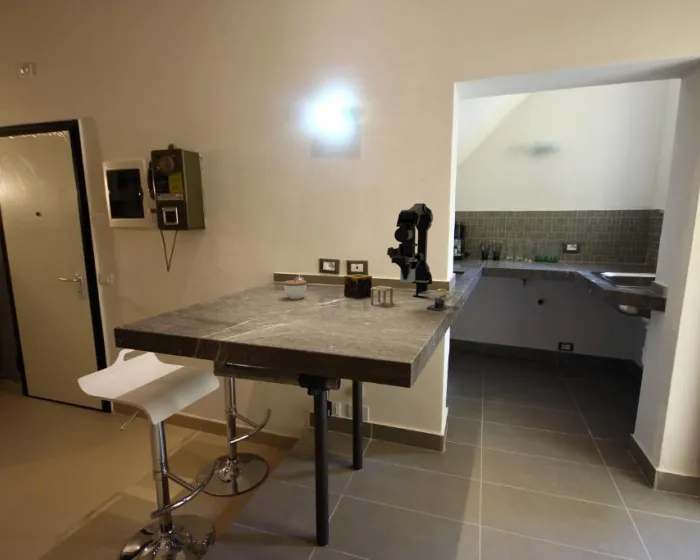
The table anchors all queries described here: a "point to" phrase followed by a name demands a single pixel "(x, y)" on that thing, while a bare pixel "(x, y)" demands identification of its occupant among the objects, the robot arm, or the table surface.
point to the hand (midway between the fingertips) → (407, 278)
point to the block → (410, 276)
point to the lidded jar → (295, 288)
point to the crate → (384, 289)
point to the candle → (357, 286)
